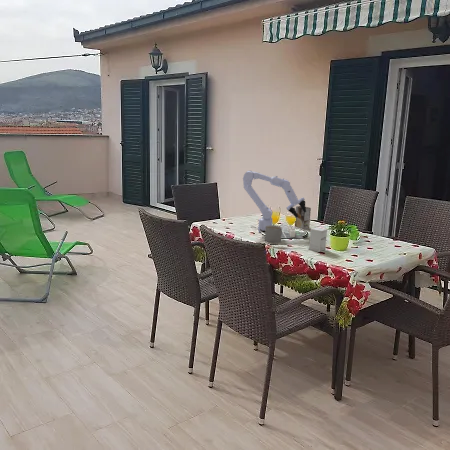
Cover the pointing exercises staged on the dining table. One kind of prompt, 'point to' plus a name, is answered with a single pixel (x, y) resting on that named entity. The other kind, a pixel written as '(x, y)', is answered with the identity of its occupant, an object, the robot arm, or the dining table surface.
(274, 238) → the coffee mug
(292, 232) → the slider front
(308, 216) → the coffee box
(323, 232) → the supplement box
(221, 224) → the dining table surface
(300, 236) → the console
